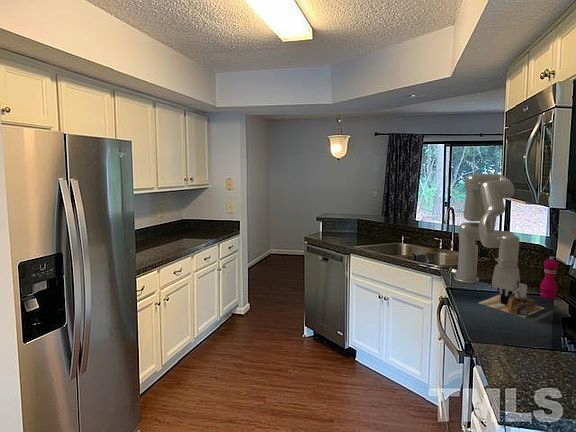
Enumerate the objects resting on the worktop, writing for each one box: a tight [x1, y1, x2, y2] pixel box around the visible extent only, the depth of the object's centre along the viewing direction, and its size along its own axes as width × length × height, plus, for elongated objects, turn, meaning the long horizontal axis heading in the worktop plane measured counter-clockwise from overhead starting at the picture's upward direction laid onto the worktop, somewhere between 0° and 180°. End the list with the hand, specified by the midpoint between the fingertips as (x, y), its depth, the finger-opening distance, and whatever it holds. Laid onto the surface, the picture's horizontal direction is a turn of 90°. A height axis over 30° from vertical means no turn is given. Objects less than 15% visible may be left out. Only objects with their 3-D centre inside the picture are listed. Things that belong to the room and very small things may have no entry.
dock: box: [478, 294, 545, 318], centre depth 197 cm, size 21×18×4 cm
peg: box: [514, 282, 528, 304], centre depth 195 cm, size 4×4×10 cm
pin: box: [508, 298, 530, 317], centre depth 187 cm, size 8×2×5 cm, turn 36°
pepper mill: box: [539, 256, 559, 300], centre depth 210 cm, size 7×7×20 cm
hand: (504, 303), depth 192 cm, fingers closed
